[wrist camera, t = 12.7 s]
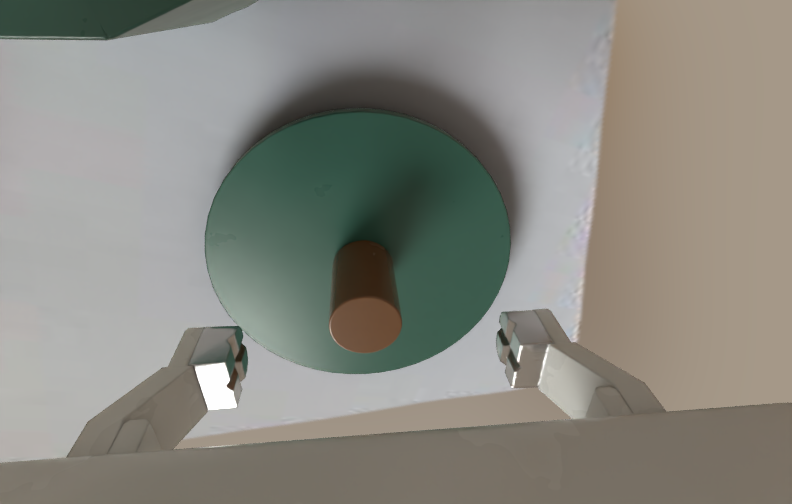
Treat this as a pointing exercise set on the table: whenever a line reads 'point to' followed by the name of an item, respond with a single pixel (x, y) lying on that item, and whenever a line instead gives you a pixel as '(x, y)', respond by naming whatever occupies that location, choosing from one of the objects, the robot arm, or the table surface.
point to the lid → (357, 241)
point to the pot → (106, 17)
